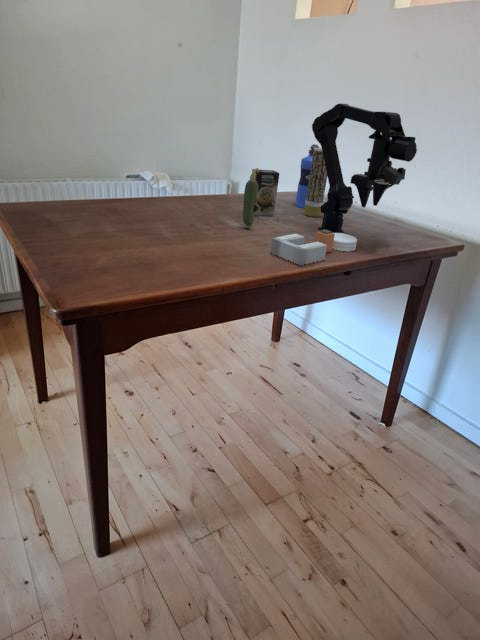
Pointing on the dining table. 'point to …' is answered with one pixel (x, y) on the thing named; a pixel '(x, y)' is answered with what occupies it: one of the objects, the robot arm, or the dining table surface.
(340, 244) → the white round dish
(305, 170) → the water bottle
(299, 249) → the housing
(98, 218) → the dining table surface
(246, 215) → the vegetable
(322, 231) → the orange cylinder
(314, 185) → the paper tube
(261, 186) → the coffee box
